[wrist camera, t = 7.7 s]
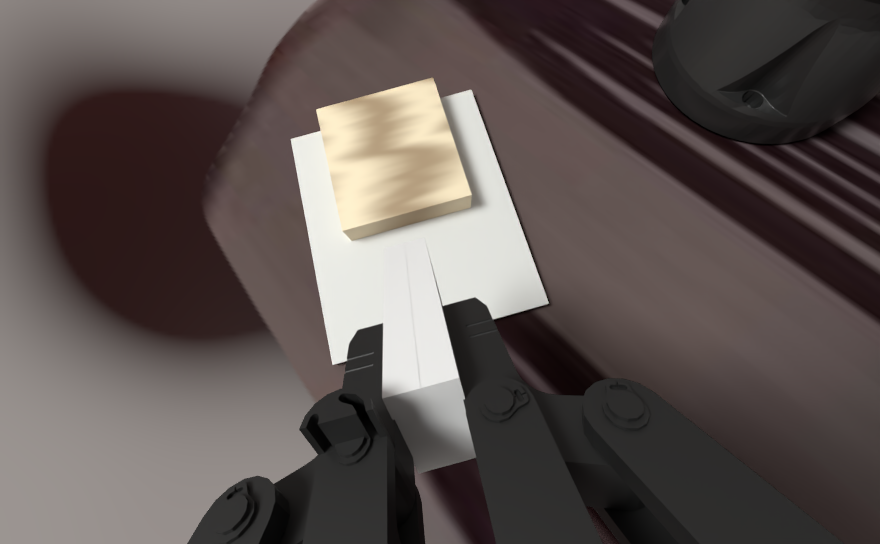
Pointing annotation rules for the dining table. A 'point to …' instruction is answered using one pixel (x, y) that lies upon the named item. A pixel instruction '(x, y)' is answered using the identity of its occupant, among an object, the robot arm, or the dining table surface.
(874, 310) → the dining table surface
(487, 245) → the rubber mat
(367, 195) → the birch slab
